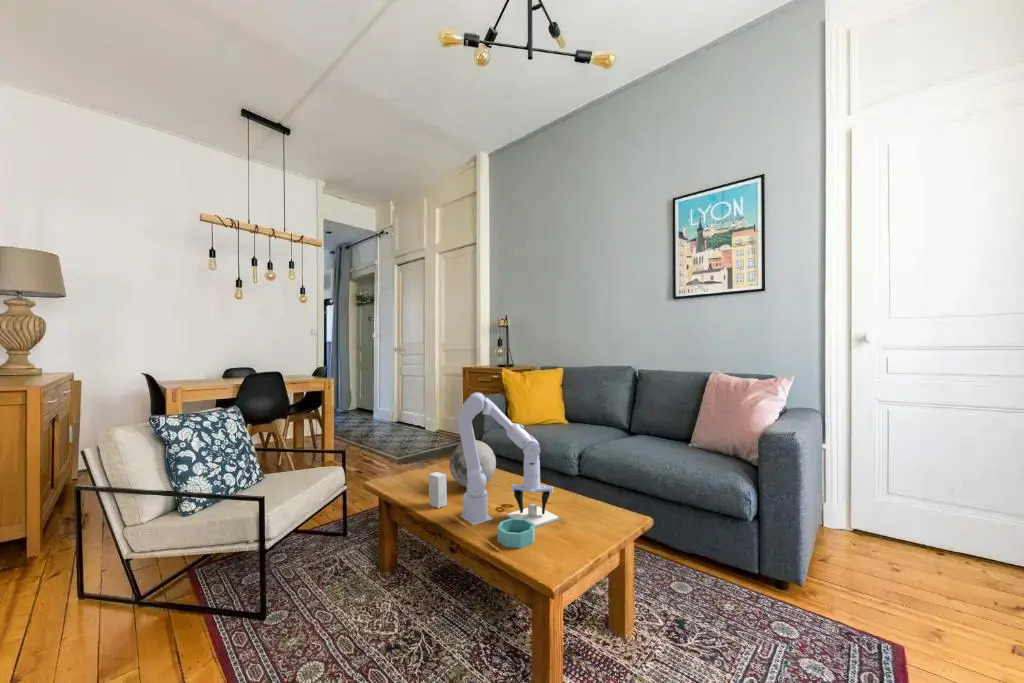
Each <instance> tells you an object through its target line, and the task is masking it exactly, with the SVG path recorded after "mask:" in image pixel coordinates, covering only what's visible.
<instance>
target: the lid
mask: <svg viewBox="0 0 1024 683" xmlns="http://www.w3.org/2000/svg"><path fill="white" fill-rule="evenodd" d="M506 514H507V516H508V517H510V518H518V519H527V520H529V521H530V522H532V523H534V524H535V526H538V525H541V524H544V523H547V522H550V521H553V520H557V519H559V517H560V516H558V515H556V514H554V513H552V512H550V511H549V510H546V509H545V513H544V514H542V507H540V506H539V505H537V504H536V503H530V504H527V507H526V508H523V512H522V513H520V509H519V510H515V511H512V512H510V513H506Z"/></svg>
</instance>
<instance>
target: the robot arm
mask: <svg viewBox="0 0 1024 683" xmlns="http://www.w3.org/2000/svg"><path fill="white" fill-rule="evenodd" d="M481 412H482V413H481ZM480 413H481V414H482V415H488V416H491V417H492V418H493V419H494V420H495V421H496V422H497V423H499V425H500V426H502V428H504V429H505V430H506V436H507V437H508V438H509V439H510V440H511V441H512V442H513V443H514V444H515V445H516V446H517V447H518V448H520V449H521V450H522V451H523V454H524V455H523V456H524V457H523V458H524V459H523V483H520V484H512V485H511V487H510V488H511V490H510V491H511V492H512V493H513V496H514V499H515V500H516V502H517V505H518V507H519V510H520V513H522V512H523V509H524V501H523V500H524V498H523V497H524V492H525V493H542V494H541V503H542V504H541V505H542V506H541V508H542V514H544V513H545V510H546V507H547V506H546V505H547V503H548V502H547V501H548V499H549V497H550V494H551V495H553V493H554V487H553V486H551V485H545V484H541V464H540V463H541V462H540V454H541V448H540V444H539V441H538V440H537V438H535V437H534V436H533V435H532V434H529V433H528V432H527V430H525V429H524V428H525V426H524V425H523V424H519V423H513V422H512V421H511V420H510V419H509V418H508V417H507V415H506V414H505V413H503V411H502V410H501V409H500V407H498V406H497V405H496V404H495V403H494V402H493V401H492V400H491V399H489V398H488V397H486V395H485V394H483V393H482V392H479V391H477V392H473V393H471V394H470V396H469V397H467V399H466V400H465V401H464V402H463V403H462V407H461V410H460V412H459V414H458V416H457V425H458V430H459V431H458V432H459V436H460V441H461V443H462V446H463V451H464V456H465V461H466V466H467V479H468V484H467V487H466V491H464V492H465V493H464V494H463V496H462V514H460V517H461V518H462V519H464V520H465V521H466V522H468V523H470V524H471V526H474V525H479V524H481V523H485V522H488V521H491V520H493V517H492V516H490V515H489V514H488V490H486V484H487V483H486V481H487V478H486V475H485V474H484V473H483V471H482V467H481V465H480V461H479V456H478V451H477V446H476V441H475V440H476V436H475V431H474V428H473V427H474V426H473V420H474V418H475V417H476V416H477V415H478V414H480Z"/></svg>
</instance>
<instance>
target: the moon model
mask: <svg viewBox="0 0 1024 683" xmlns="http://www.w3.org/2000/svg"><path fill="white" fill-rule="evenodd" d="M475 441H476V446H477V451H478V456H479V461H480V465H481V467H482V471H483V473H484V474H485V475H486V478H487V481H486V484H488V482H489V481H491V479H492V477H493V476H494V474H495V471H496V467H497V461H496V460H497V459H496V455H495V453H494V450H493V449H492V448H491V447H490V446H489V445H488V444H487V443H485V442H484V441H481V440H477V439H475ZM449 472H450V474H451V476H452V478H453V479H454V481H455V482H456V483H457V484H459V485H460V486H462V487H464V488H467V484H468V479H467V466H466V461H465V456H464V451H463V446H462V442H461V443H460V444H458V445H457V446H456V447H455V448H454V449H453V451H452V453H451V455H450V458H449Z"/></svg>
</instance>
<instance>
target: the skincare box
mask: <svg viewBox="0 0 1024 683" xmlns="http://www.w3.org/2000/svg"><path fill="white" fill-rule="evenodd" d="M447 490H448V489H447V474H445V473H442V472H438V471H435V472H431V473H429V474H428V505H429V504H430V505H432V506H431V507H433V506H434V507H433V508H435V507H437V508H436V509H438V508H439V509H441V508H440V507H442V508H444V507H447V506H448V500H447V499H448V498H447V496H448V494H447V493H448V491H447ZM430 505H429V506H430ZM446 505H447V506H446ZM443 506H444V507H443Z"/></svg>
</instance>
